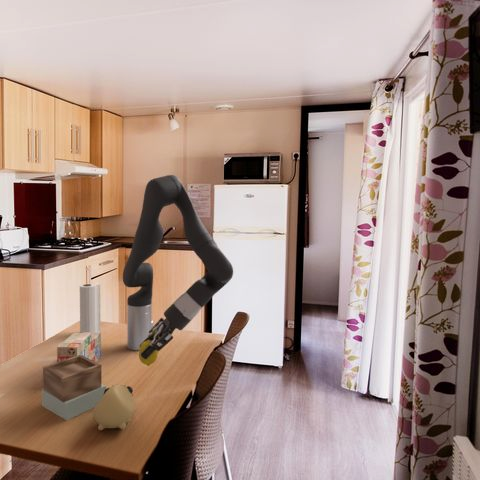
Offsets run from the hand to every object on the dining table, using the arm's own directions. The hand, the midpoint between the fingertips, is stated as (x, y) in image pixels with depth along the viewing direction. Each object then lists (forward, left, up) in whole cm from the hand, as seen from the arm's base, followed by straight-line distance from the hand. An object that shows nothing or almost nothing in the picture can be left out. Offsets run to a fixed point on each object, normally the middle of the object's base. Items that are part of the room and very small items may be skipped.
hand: (142, 352), depth 111 cm
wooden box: (+15, -12, -9) cm, 21 cm away
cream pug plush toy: (+14, +6, -13) cm, 20 cm away
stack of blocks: (0, -30, -14) cm, 33 cm away
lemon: (-1, +1, -5) cm, 5 cm away
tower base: (+14, -12, -14) cm, 23 cm away
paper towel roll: (-21, -57, -13) cm, 62 cm away
